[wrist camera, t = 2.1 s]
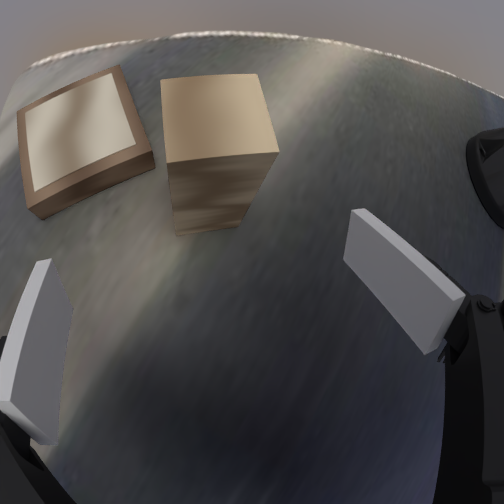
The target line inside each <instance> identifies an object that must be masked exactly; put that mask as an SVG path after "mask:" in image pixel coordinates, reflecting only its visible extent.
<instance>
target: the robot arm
mask: <svg viewBox="0 0 504 504" xmlns="http://www.w3.org/2000/svg"><path fill="white" fill-rule="evenodd" d="M467 163H468V167H469V171H470V175H471V178H472V181H473V184H474V186H475V189H476V191H477V193H478V195H479V198H480V200H481V201H482V203H483V205H484V207H485V208H486V210H487V212H488V213H489V214H490V216H491V217H492V218H493V220H494V221H495V222H496V223H497V224H498V225H500V226H501V227H502V228H504V127H503V128H498V129H492V130H487V131H483V132H480V133H478V134H477V135H475V136H474V137H473V138H471V139H470V140H469V142H468V144H467ZM343 260H344V261H345V262H346V263H347V264H348V266H349V267H350V268H351V269H352V270H353V271H354V272H355V273H356V274H357V276H358V277H359V278H360V279H361V280H362V281H363V282H364V283H365V285H366V286H367V287H368V288H369V289H370V290H371V291H372V293H373V294H374V295H375V296H376V297H377V298H378V300H379V301H380V302H381V303H382V304H383V305H384V307H385V308H386V309H387V310H388V311H389V312H390V314H391V315H392V316H393V317H394V318H395V320H396V321H397V322H398V323H399V324H400V326H401V327H402V328H403V329H404V330H405V332H406V333H407V334H408V335H409V336H410V338H411V339H412V340H413V341H414V343H415V344H416V345H417V346H418V348H419V349H420V350H421V351H422V353H423V354H424V355H426V354H428V353H430V352H432V351H433V350H435V349H437V348H438V347H439V345H440V343H441V341H442V340H443V338H445V339H446V341H447V344H446V346H445V347H444V349H443V351H442V352H441V354H440V356H439V357H438V361H437V362H440V361H441V359H442V358H443V356H445V360H444V361H443V363H445V411H444V427H443V438H442V448H441V457H440V464H439V471H438V477H437V483H436V489H435V494H434V499H433V503H432V504H504V300H503V302H501V303H494V302H493V301H492V300H491V299H489V298H488V297H486V296H483V295H474V296H471V295H470V294H469V293H468V292H467V291H466V290H465V289H464V288H463V287H462V286H461V285H460V284H459V283H458V282H456V281H455V280H454V279H453V278H452V277H451V276H449V275H448V273H447V272H446V271H444V270H442V268H441V267H440V266H439V265H438V264H437V263H435V262H434V261H433V260H431V259H429V258H427V257H425V256H423V255H421V254H420V253H419V252H418V251H417V250H416V249H414V248H413V247H412V246H411V245H410V244H409V243H407V242H406V241H405V240H404V239H403V238H401V237H400V236H399V235H398V234H396V233H395V232H394V231H393V230H392V229H390V228H389V227H388V226H387V225H385V224H384V223H383V222H382V221H380V220H379V219H378V218H376V217H375V216H374V215H373V214H371V213H370V212H369V211H367V210H366V209H365V208H363V209H355V210H351V216H350V223H349V229H348V235H347V241H346V246H345V252H344V257H343ZM72 314H73V307H72V305H71V303H70V301H69V298H68V296H67V294H66V292H65V289H64V287H63V285H62V282H61V280H60V278H59V275H58V273H57V270H56V268H55V265H54V263H53V260H52V259H47V260H42V261H37V262H36V264H35V267H34V269H33V271H32V273H31V276H30V278H29V280H28V283H27V285H26V287H25V290H24V292H23V295H22V297H21V300H20V302H19V305H18V308H17V310H16V313H15V316H14V319H13V321H12V324H11V327H10V330H9V333H8V336H2V337H1V339H0V504H76V503H75V502H74V500H73V499H72V498H71V497H70V496H69V495H68V493H67V492H66V491H65V490H64V489H63V487H62V486H61V485H60V484H59V482H58V481H57V480H56V479H55V477H54V476H53V475H52V474H51V472H50V471H49V470H48V468H47V467H46V465H45V464H44V463H43V461H42V460H41V459H40V457H39V456H38V454H37V453H36V451H35V450H34V449H33V448H32V447H31V446H30V437H31V438H32V439H33V440H35V441H36V442H37V443H38V444H40V445H58V429H59V410H60V397H61V387H62V377H63V369H64V361H65V354H66V348H67V341H68V335H69V330H70V324H71V319H72Z"/></svg>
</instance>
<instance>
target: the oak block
mask: <svg viewBox="0 0 504 504" xmlns="http://www.w3.org/2000/svg"><path fill="white" fill-rule="evenodd" d="M161 97H162V113H163V126H164V139H165V150H166V160H167V169H168V178H169V186H170V194H171V201H172V209H173V216H174V223H175V230H176V236H179V235H185V234H192V233H199V232H205V231H212V230H219V229H226V228H233V227H238V226H239V224H240V223H241V221H242V219H243V217H244V215H245V213H246V212H247V210H248V208H249V206H250V204H251V202H252V201H253V199H254V197H255V195H256V193H257V191H258V190H259V188H260V186H261V184H262V182H263V181H264V179H265V177H266V175H267V173H268V171H269V170H270V168H271V166H272V164H273V162H274V161H275V159H276V157H277V155H278V154H279V148H278V145H277V141H276V137H275V134H274V130H273V127H272V123H271V120H270V116H269V113H268V109H267V106H266V102H265V99H264V96H263V92H262V89H261V86H260V82H259V79H258V76H257V74H227V75H207V76H193V77H182V78H172V79H163V80H161Z"/></svg>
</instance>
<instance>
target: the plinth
mask: <svg viewBox="0 0 504 504" xmlns="http://www.w3.org/2000/svg"><path fill="white" fill-rule="evenodd" d="M17 129H18V143H19V154H20V163H21V171H22V178H23V185H24V192H25V197H26V203H27V208H28V209H29V210H30V211H31V212H32V213H34V214H35V215H36V216H38V217H39V218H40V219H42V220H44V219H46V218H48V217H50V216H51V215H53V214H55V213H57V212H59V211H61V210H63V209H65V208H67V207H69V206H71V205H73V204H75V203H77V202H79V201H81V200H83V199H85V198H87V197H89V196H92V195H94V194H96V193H98V192H100V191H102V190H105V189H107V188H109V187H111V186H113V185H116V184H118V183H120V182H123V181H125V180H127V179H130V178H132V177H134V176H137V175H139V174H141V173H144V172H146V171H149V170H151V169H154V168H155V163H154V158H153V152H152V149H151V146H150V144H149V141H148V139H147V136H146V134H145V131H144V129H143V126H142V123H141V121H140V118H139V116H138V113H137V110H136V108H135V105H134V102H133V100H132V97H131V94H130V92H129V89H128V86H127V84H126V81H125V78H124V75H123V72H122V70H121V67H120V65H117V66H114V67H111V68H108V69H106V70H103V71H101V72H98V73H95V74H93V75H91V76H88V77H86V78H83V79H81V80H79V81H76V82H74V83H72V84H70V85H67V86H65V87H63V88H61V89H59V90H57V91H55V92H53V93H51V94H49V95H47V96H45V97H43V98H41V99H39V100H37V101H35V102H33V103H31V104H29V105H28V106H26V107H24V108H22V109H20V110H19V111H17Z"/></svg>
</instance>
